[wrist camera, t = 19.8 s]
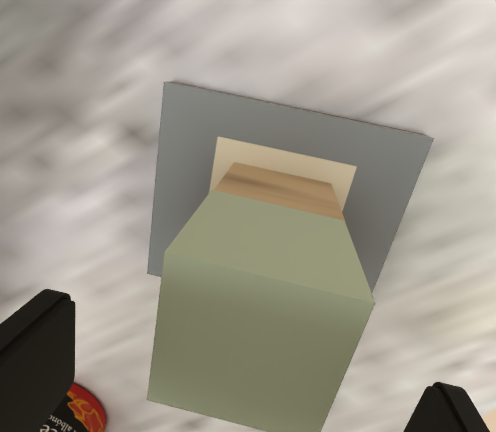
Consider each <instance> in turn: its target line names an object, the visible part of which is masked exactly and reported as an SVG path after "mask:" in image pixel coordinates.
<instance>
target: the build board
mask: <svg viewBox="0 0 496 432" xmlns="http://www.w3.org/2000/svg"><path fill="white" fill-rule="evenodd" d="M433 139H434V138H431V137H429V136H426V135H423V134H418V133H414V132H409V131H404V130H399V129H395V128H390V127H385V126H380V125H376V124H371V123H366V122H361V121H357V120H352V119H347V118H342V117H337V116H333V115H328V114H323V113H318V112H314V111H309V110H304V109H299V108H295V107H290V106H285V105H280V104H276V103H271V102H266V101H261V100H257V99H252V98H247V97H242V96H238V95H233V94H228V93H223V92H219V91H214V90H209V89H204V88H199V87H195V86H190V85H185V84H180V83H176V82H164V87H163V98H162V110H161V122H160V133H159V145H158V156H157V168H156V179H155V191H154V202H153V214H152V225H151V237H150V248H149V260H148V271H147V274H151V275H155V276H159V277H162V270H163V261H164V253H165V251H166V250H167V248H168V247H169V246H170V244H171V243H172V242H173V240H174V239H175V238H176V236H177V235H178V234H179V232H180V231H181V230H182V228H183V227H184V226H185V225H186V223H187V222H188V221H189V219H190V218H191V217H192V215H193V214H194V213H195V211H196V210H197V209H198V207H199V206H200V205H201V203H202V202H203V201H204V199H205V198H206V197H207V195H208V194H209V193H210V192H211V190H214V189H215V187H216V186H217V185H218V183H219V182H220V181H221V179H222V178H223V177H224V175H225V174H226V173H227V171H228V170H229V169H230V167H231V166H232V164H233V163H234V162H236V163H241V164H245V165H250V166H254V167H259V168H263V169H268V170H272V171H277V172H281V173H286V174H291V175H295V176H300V177H304V178H309V179H313V180H318V181H322V182H327V183H331V184H332V187H333V190H334V192H335V195H336V198H337V200H338V203H339V206H340V208H341V211H342V214H343V216H344V219H345V223H346V226H347V229H348V231H349V234H350V237H351V239H352V242H353V245H354V247H355V250H356V253H357V255H358V258H359V261H360V264H361V266H362V269H363V272H364V274H365V277H366V280H367V282H368V285H369V288H370V291H371V293H372V291H373V289H374V286H375V284H376V281H377V279H378V276H379V274H380V271H381V269H382V266H383V264H384V261H385V259H386V256H387V254H388V251H389V249H390V246H391V244H392V242H393V239H394V237H395V234H396V232H397V229H398V227H399V224H400V222H401V219H402V217H403V214H404V212H405V209H406V207H407V204H408V202H409V199H410V197H411V194H412V192H413V189H414V187H415V184H416V182H417V179H418V177H419V174H420V172H421V169H422V167H423V164H424V162H425V159H426V157H427V154H428V152H429V149H430V147H431V144H432V142H433Z"/></svg>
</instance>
